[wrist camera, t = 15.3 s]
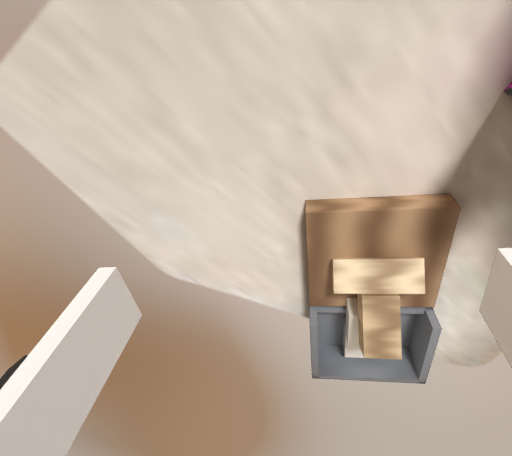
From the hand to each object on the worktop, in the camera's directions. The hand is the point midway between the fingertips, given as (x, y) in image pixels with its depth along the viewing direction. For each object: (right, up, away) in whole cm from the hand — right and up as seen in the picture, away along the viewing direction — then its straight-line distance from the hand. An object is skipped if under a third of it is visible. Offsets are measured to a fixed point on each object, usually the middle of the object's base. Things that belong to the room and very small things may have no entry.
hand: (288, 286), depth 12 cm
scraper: (+13, -1, +26) cm, 29 cm away
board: (+14, -1, +30) cm, 33 cm away
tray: (+15, -12, +37) cm, 42 cm away
